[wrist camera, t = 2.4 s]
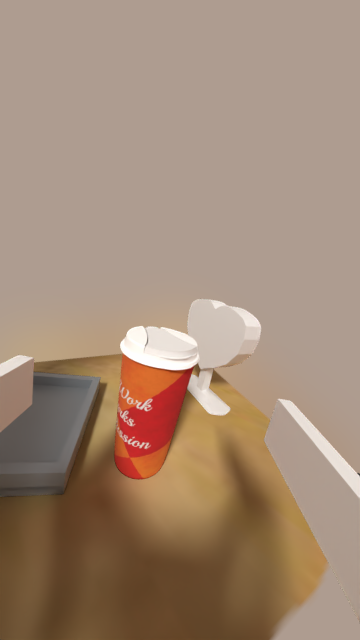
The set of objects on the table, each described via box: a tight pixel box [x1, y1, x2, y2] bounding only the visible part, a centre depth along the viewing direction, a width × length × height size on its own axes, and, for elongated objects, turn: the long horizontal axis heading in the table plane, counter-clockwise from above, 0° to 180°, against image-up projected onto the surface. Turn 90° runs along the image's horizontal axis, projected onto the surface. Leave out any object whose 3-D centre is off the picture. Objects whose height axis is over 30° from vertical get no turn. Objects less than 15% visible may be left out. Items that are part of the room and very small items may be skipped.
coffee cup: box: [114, 326, 200, 479], centre depth 22 cm, size 8×8×15 cm
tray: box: [0, 372, 101, 497], centre depth 24 cm, size 16×16×2 cm
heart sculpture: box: [187, 299, 261, 415], centre depth 38 cm, size 16×5×18 cm, turn 29°
